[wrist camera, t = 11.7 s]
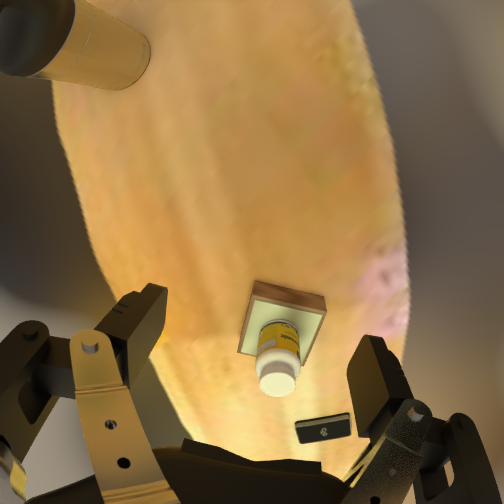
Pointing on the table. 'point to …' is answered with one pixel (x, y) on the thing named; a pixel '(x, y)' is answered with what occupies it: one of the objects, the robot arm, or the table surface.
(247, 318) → the pedestal
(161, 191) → the table surface
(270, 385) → the supplement bottle
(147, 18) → the table surface
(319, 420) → the external hard drive
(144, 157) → the table surface
